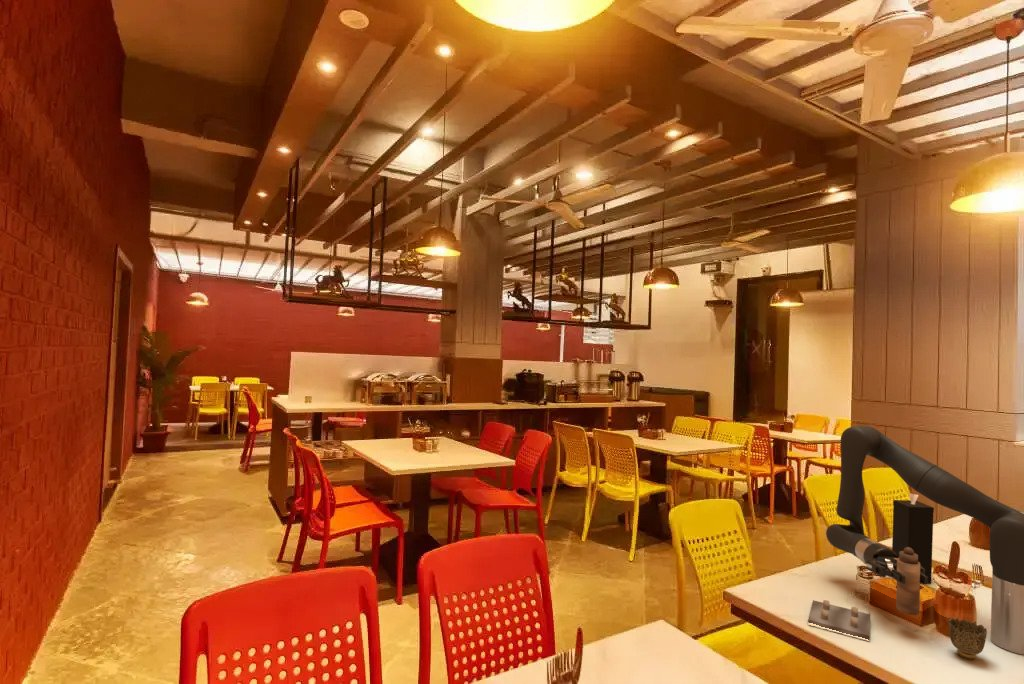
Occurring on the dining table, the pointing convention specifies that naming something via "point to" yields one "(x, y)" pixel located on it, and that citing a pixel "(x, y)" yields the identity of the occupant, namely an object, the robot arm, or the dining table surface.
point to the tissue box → (914, 530)
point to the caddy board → (840, 619)
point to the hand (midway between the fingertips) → (914, 580)
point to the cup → (967, 637)
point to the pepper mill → (908, 582)
